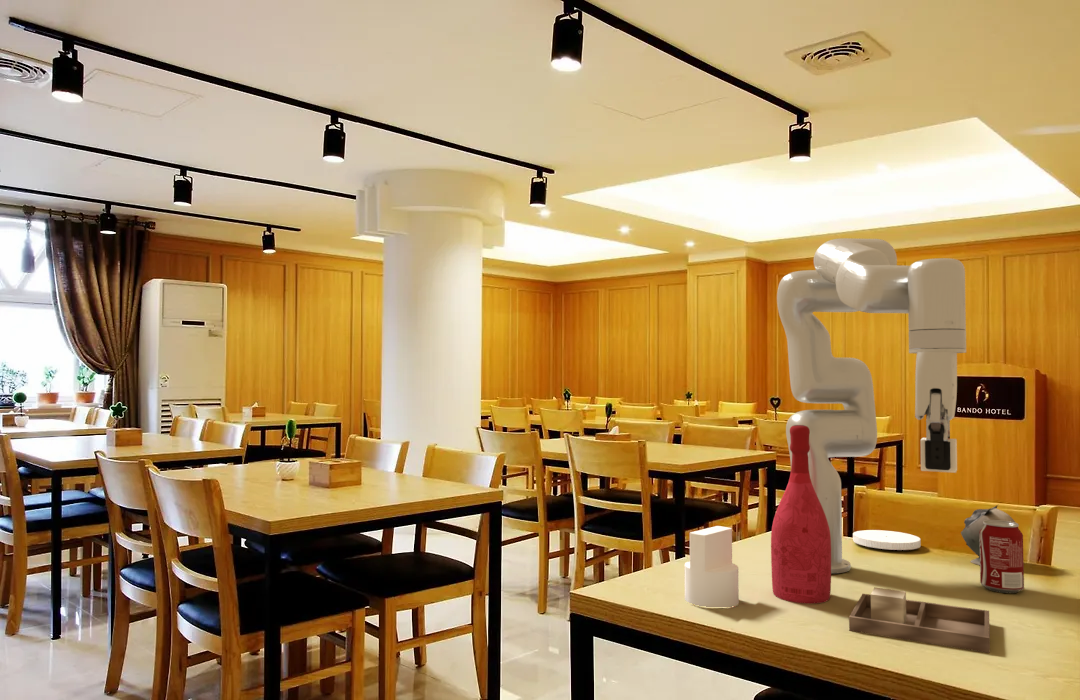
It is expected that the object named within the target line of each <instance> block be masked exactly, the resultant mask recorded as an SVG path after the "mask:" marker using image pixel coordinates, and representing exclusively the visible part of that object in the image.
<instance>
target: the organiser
mask: <svg viewBox="0 0 1080 700" xmlns="http://www.w3.org/2000/svg"><path fill="white" fill-rule="evenodd" d="M848 622H849V626H848V627H849V630H848V631H850V632H856V633H862V634H867V635H873V636H880V637H886V638H892V639H898V640H905V641H911V642H918V643H923V644H930V645H937V646H942V647H947V648H948V647H949V648H956V649H959V650H960V649H961V650H968V651H973V652H980V653H985V654H990V653H991V651H990V650H991V647H990V646H991V645H990V644H991V643H990V642H991V641H990V638H991V637H990V610H985V609H979V608H971V607H964V606H957V605H950V604H949V605H948V604H942V603H934V602H929V601H927V602H926V601H920V600H912V599H906V623H905V624H901V623H895V622H888V621H881V620H875V619H871V594H867V593H862V594H861V596H860V598H859V600H858V601H857V603H855V606H854V608H853V609H852V611H851V613H850V615H849V616H848Z"/></svg>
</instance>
